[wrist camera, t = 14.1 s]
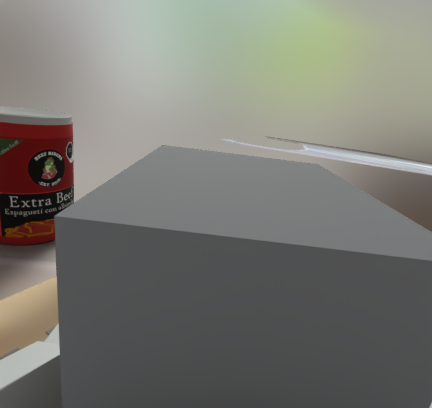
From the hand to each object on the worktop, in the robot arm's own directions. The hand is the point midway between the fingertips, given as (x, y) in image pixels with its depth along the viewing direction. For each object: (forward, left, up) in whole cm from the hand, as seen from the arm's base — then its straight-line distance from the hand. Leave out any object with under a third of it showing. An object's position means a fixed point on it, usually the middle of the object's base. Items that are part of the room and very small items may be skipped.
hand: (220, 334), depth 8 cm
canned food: (-26, +9, -8) cm, 28 cm away
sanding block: (0, -1, -5) cm, 6 cm away
